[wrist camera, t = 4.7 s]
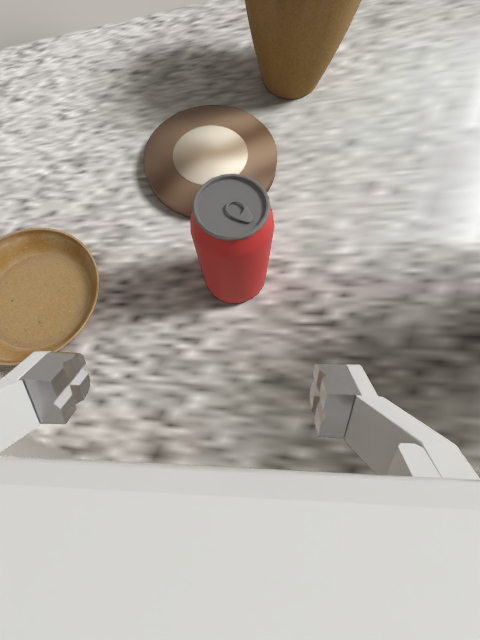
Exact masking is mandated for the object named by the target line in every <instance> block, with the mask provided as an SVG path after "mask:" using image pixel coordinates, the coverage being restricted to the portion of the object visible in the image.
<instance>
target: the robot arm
mask: <svg viewBox="0 0 480 640" xmlns="http://www.w3.org/2000/svg"><path fill="white" fill-rule="evenodd" d="M85 364H86V363H85V359H84V356H83V355H82V354H80V353H69V352H54V351H52V352H51V351H35V352H33V353H32V354H31V355H29V356H28V357H27V358H26V359H25V360H23V361H22V362H21V363H20V364H19V365H18V366H16V367H15V368H14V369H13V370H12V371H10V372H9V373H8V374H7V375H6V376H5V377H3V378H2V379H0V452H1V451H3V450H4V449H6V448H7V447H9V446H10V445H12V444H13V443H14V442H16V441H17V440H19V439H20V438H22V437H23V436H25V435H26V434H28V433H29V432H31V431H32V430H33V429H35V428H36V427H38V426H39V425H40V424H66V423H67V422H68V420H69V419H70V418H71V416H72V415H73V414H74V412H75V411H76V404H77V403H79V402H80V401H82V400H84V398H85V397H86V395H87V394H88V391H89V387H90V378H89V374H88V373H87V372H86V371H85V370H84V369H83V367H84V365H85ZM313 376H314V381H313V382H312V383H311V387H310V405H311V410H312V411H313V412H314V413H315V418H314V422H315V426H316V430H317V434H318V437H330V438H343V439H344V440H345V441H346V442H347V443H348V445H349V446H350V447H351V448H352V449H353V450H354V451H355V452H356V453H357V454H358V455H359V456H360V458H361V459H362V460H363V461H364V462H365V463H366V464H367V465H368V466H369V467H370V468H371V470H372V471H373V472H374V473H375V474H376V475H373V474H354V473H334V472H315V471H296V470H276V469H257V468H238V467H218V466H199V465H180V464H161V463H142V462H123V461H103V460H83V459H63V458H42V457H23V456H4V455H3V456H2V455H0V640H480V478H479V476H478V475H477V474H476V472H475V471H474V469H473V468H472V467H471V465H470V464H469V462H468V461H467V460H466V458H465V457H464V456H463V454H462V453H461V451H460V450H459V449H458V447H457V446H456V445H455V444H454V443H452V442H451V441H449V440H448V439H446V438H445V437H443V436H442V435H440V434H439V433H437V432H436V431H434V430H433V429H431V428H430V427H428V426H427V425H425V424H423V423H422V422H420V421H419V420H417V419H416V418H414V417H413V416H411V415H410V414H408V413H407V412H405V411H404V410H402V409H401V408H399V407H398V406H396V405H395V404H393V403H392V402H390V401H389V400H387V399H386V398H384V397H379V396H378V395H377V393H376V391H375V390H374V388H373V386H372V384H371V382H370V380H369V379H368V377H367V375H366V373H365V371H364V370H363V368H362V366H361V365H350V364H345V365H335V364H315V366H314V370H313Z"/></svg>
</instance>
